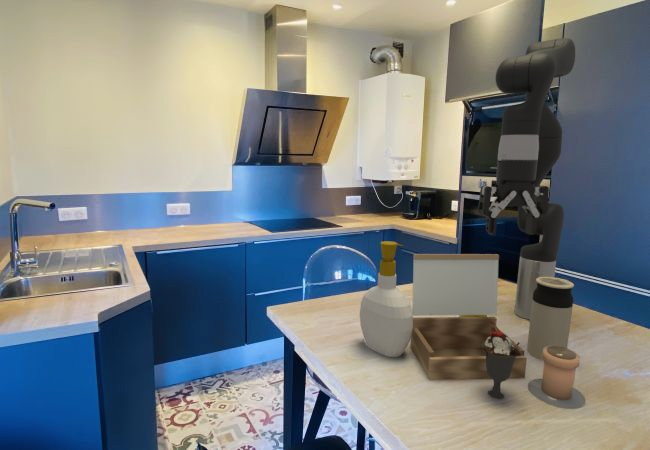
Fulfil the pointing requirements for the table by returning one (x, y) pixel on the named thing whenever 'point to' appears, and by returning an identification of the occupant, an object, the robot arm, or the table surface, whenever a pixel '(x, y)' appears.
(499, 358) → the sundae
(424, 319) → the box
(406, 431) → the table surface
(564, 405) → the slate saucer
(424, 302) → the frame lid
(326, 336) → the table surface
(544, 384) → the clay pot
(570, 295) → the travel mug
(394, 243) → the soap bottle
